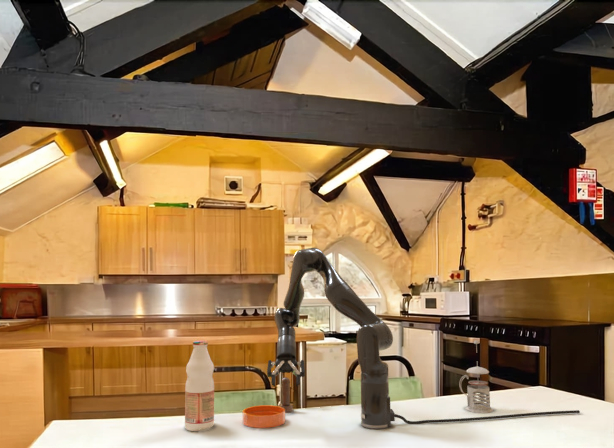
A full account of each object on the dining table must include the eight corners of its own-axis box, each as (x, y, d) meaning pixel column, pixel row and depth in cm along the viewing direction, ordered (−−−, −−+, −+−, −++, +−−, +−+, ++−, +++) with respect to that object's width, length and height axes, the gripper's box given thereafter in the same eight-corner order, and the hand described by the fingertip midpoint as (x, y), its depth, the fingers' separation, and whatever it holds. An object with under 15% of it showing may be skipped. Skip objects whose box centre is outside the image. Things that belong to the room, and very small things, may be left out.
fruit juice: (182, 432, 168) (183, 343, 171) (187, 423, 178) (188, 339, 180) (211, 431, 169) (212, 342, 171) (215, 423, 178) (216, 339, 181)
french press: (497, 412, 189) (494, 341, 191) (464, 413, 189) (462, 342, 191) (488, 406, 198) (485, 338, 201) (457, 406, 199) (454, 338, 201)
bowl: (285, 418, 184) (285, 405, 184) (284, 430, 169) (284, 415, 170) (244, 418, 183) (245, 405, 184) (240, 430, 169) (240, 416, 170)
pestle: (293, 411, 193) (292, 376, 194) (292, 414, 188) (292, 378, 189) (278, 411, 193) (278, 376, 194) (278, 415, 188) (278, 378, 189)
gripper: (268, 343, 205) (266, 379, 193) (304, 343, 206) (305, 379, 193) (268, 355, 210) (266, 391, 198) (304, 355, 210) (304, 391, 198)
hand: (285, 385), depth 195 cm, fingers open, 8 cm apart
